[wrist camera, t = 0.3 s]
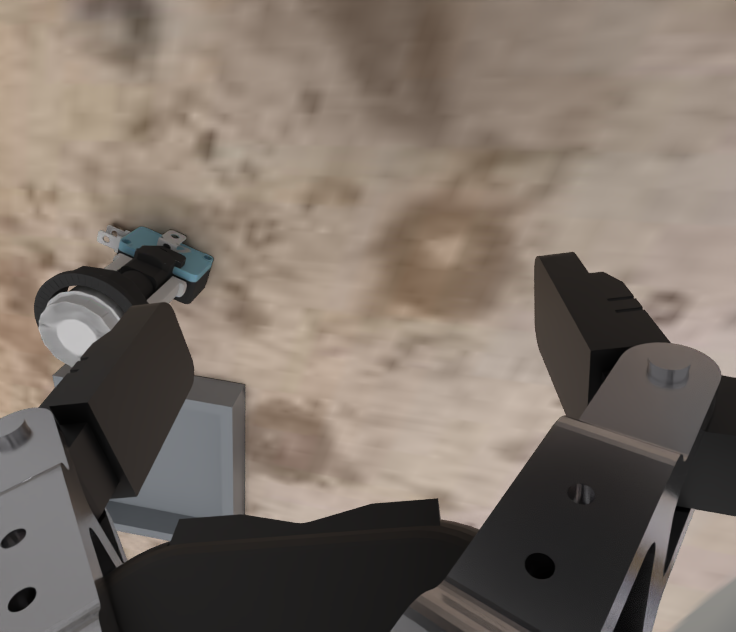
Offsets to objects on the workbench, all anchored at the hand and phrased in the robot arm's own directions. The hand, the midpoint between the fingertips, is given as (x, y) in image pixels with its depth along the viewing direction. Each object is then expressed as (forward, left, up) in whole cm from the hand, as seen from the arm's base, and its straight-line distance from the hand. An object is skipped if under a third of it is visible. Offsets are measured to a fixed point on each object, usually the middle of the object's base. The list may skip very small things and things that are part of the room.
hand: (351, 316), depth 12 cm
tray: (+24, -15, -19) cm, 34 cm away
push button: (+8, -14, -19) cm, 25 cm away
